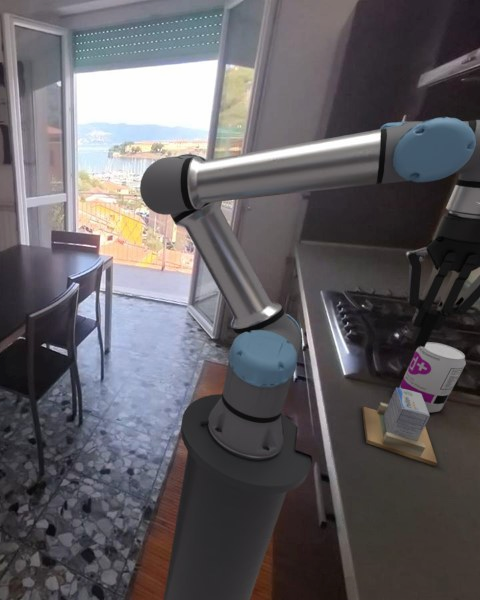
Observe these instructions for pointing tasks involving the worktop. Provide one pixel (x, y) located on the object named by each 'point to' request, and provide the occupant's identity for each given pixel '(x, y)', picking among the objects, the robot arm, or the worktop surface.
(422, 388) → the supplement can
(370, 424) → the mount pad
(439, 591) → the worktop surface
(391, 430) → the medicine box
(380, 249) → the worktop surface
